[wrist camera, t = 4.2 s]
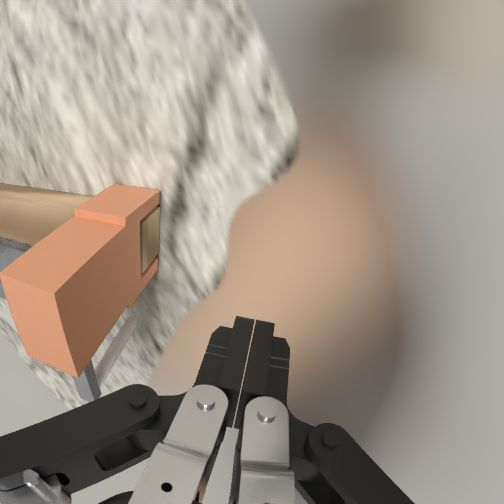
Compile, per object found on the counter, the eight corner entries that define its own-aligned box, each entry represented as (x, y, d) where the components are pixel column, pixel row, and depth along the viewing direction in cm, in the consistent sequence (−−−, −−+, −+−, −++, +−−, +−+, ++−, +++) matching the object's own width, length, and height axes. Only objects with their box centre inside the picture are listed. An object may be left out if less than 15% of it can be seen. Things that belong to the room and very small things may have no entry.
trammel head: (114, 183, 18) (-4, 264, 9) (159, 190, 18) (51, 283, 9) (121, 310, 22) (54, 411, 14) (159, 320, 22) (100, 431, 13)
